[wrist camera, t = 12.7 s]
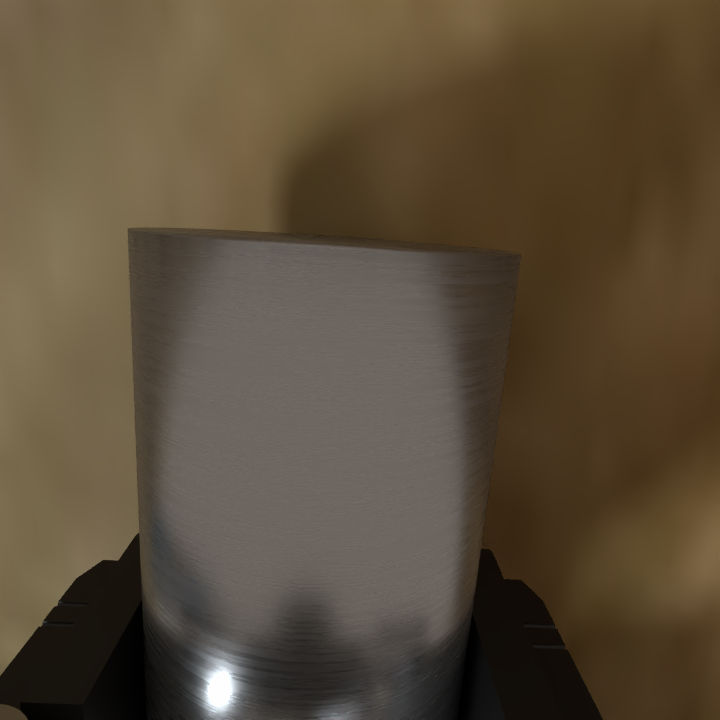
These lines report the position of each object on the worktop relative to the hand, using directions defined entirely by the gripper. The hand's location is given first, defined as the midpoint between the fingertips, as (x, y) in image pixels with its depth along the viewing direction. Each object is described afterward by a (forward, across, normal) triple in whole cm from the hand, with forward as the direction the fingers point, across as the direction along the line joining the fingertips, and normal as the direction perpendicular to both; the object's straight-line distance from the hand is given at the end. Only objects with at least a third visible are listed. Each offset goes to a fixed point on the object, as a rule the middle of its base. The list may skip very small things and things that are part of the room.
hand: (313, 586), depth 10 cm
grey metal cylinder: (+1, 0, 0) cm, 1 cm away
